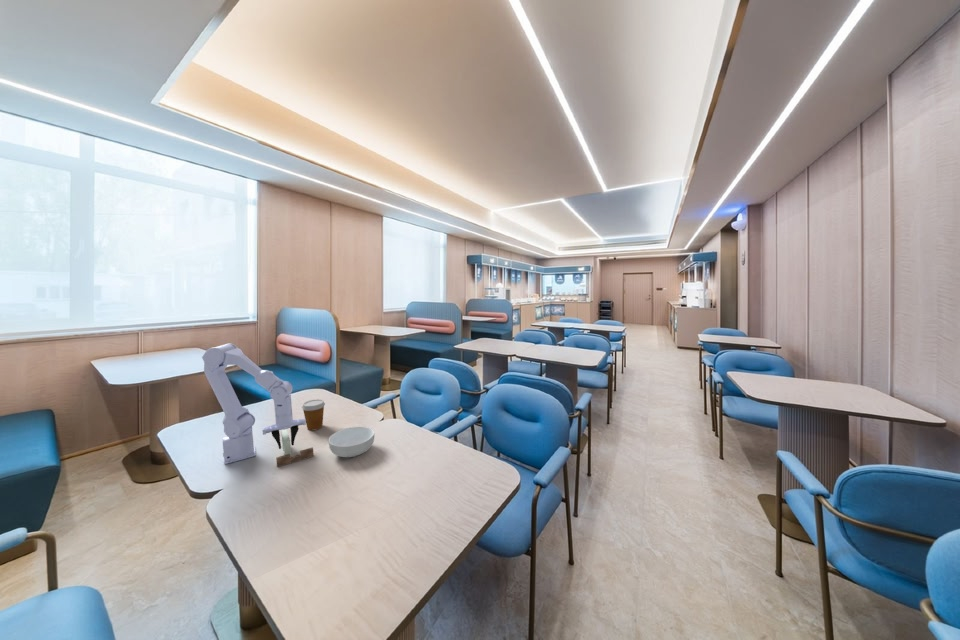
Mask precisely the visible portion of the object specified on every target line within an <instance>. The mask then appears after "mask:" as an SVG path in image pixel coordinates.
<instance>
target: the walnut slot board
mask: <svg viewBox="0 0 960 640" xmlns="http://www.w3.org/2000/svg"><path fill="white" fill-rule="evenodd" d="M299 453H300V454H298V455H292V456H291V457H290V454H287V455H284V454H283V455H280V456H276V459H275V460H276V467H278V468H279V467H282V466H286V465H289V464H292V463H295V462H299V461H303V460H305V459H309V458H312V457H314V455H315V454H314V448H313V447H308V448H305V449H302V450H299Z"/></svg>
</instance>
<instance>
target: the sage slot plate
mask: <svg viewBox="0 0 960 640" xmlns="http://www.w3.org/2000/svg"><path fill="white" fill-rule="evenodd" d="M280 433H281V434H280V437H281V448H282V451H283V455H287V454H290V457H292V448H291V447H292V444H291V437H290V435H289V432H288V429H285V430H283V429H282V430H280Z"/></svg>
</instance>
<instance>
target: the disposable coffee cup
mask: <svg viewBox="0 0 960 640" xmlns="http://www.w3.org/2000/svg"><path fill="white" fill-rule="evenodd" d="M325 405H326V403H325V401H324V400H323V399H319V398H318V399H311V400H307V401H305V402H303V404H302V406H301V409H302V411H303V416H304V419H305V420H306V429H307V431H316V430H319V429H320V430H321V428H322V427H323V423H324V410H325Z"/></svg>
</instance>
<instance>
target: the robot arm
mask: <svg viewBox="0 0 960 640" xmlns="http://www.w3.org/2000/svg"><path fill="white" fill-rule="evenodd" d="M201 358H202V361H203V363H204V365H203V366H204V367H203V372H204V375H205V377H206V379H207V381H208V384H209V385H210V386H211V389H212V390H213V394H214V396H215V397H216V399H217V401H218V404H220V407H221V409H222V410H223V413H224V417H223V420H222V425H223V432H224V434H225V436H224V437H222V449H223V450H222V451H223V452H222V457H223V458H224V459H223V460H224V465H226V464H227V465H228V464H231V463H234V462H238V461H242V460H246V459H249V458H252V457H256V455H257V454H256V453H257V452H256V446H255V444H254V435H253V426H254V425H255V423H256V417H255V416H254V415H253V413H251V412H250V410H249V409H248V408H246V407H243V406H242V404H241V402H240V400H239V399H238V396H237V394H236V392H235V390H234V387H233V386H232V384H231V383H232V382H230V379H229V377H228V376H227V374H226V372H225V370H226V368H227V367H228V366H233V365H235V366H237V367H239V368H240V369H242V370H243V371H245V372H246V373H247V374H249V375H251V376H252V377H254V382H255V383H256V384H258V385H259V386H260V387H262V388H263V389H265V390H266V391H267V392H268V393H269V396H270V398H271V399H272V400H273V406H274V417H275V424H272V425H269V426H266V427H262V428H261V429H262V435H267V434H270V433H271V435H272V437H273V439H274V440H275V442H276V444H277V446H278V449H279V450H281V449H282V442H281V434H280V433H281V432H280V431H281V430H285V429H287V430H288V429H290V444H291V447H292V446H294V445H295V440H296V437H297V434H298V432H299V426H305V425H306V420H305V418H300V419H293V418H294V417H293V406H292V392H293V391H294V386H293V385H292V383H291V382H290V381H287V380H284V379H281V378H279V377H278V376H276V374H274V371H272V370H269V369H263V368H261V367H260V366H258V365H257V364H256V363H255V362H254V361H252V360H251V359H250V358H249V357H247V355H246V354H244V353H243V351H242V349H241V348H239V347H238V346H237V345H236V344H234V343H231V342H230V343H224V344H221V345H218V346H215V347H210V348H208V349H207V350H205V352H204V353H203V355H202V356H201ZM306 426H307V425H306Z"/></svg>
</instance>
